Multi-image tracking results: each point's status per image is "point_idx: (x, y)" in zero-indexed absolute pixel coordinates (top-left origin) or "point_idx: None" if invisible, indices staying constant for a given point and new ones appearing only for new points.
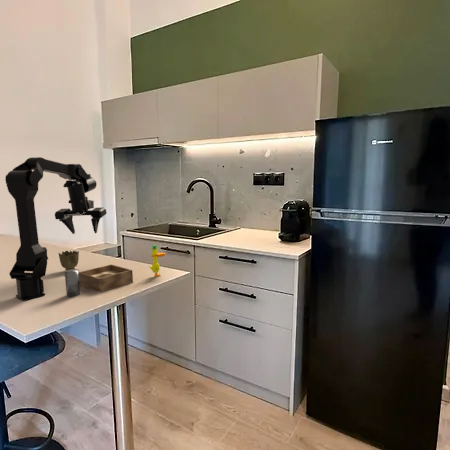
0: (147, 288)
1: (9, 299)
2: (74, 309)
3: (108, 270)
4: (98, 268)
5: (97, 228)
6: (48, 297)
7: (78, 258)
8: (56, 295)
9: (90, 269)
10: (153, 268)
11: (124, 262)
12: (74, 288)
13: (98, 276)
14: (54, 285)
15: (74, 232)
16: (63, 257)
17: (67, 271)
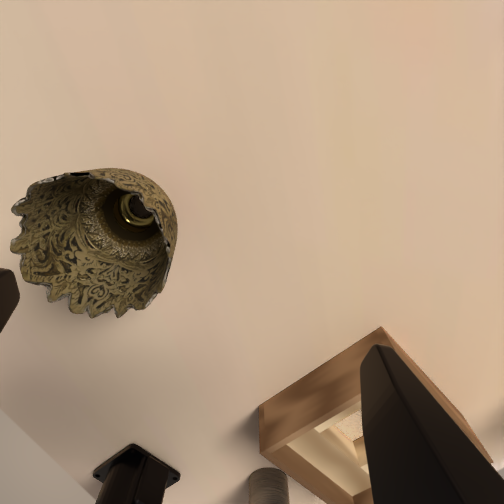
0: (496, 470)
1: (89, 481)
2: None
3: None
4: (340, 409)
5: (436, 406)
6: (199, 484)
7: (174, 224)
8: (216, 476)
9: (306, 427)
10: None
11: (474, 22)
12: None
13: (337, 420)
14: (165, 398)
15: (6, 289)
16: (92, 301)
17: None
